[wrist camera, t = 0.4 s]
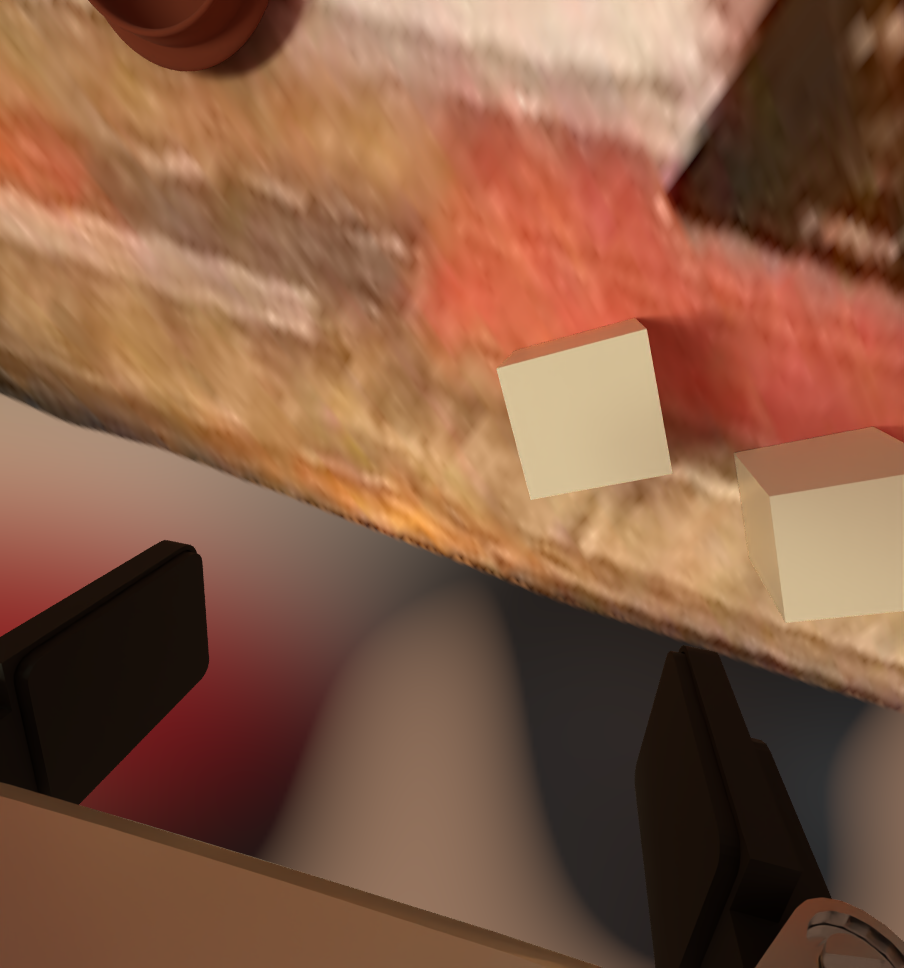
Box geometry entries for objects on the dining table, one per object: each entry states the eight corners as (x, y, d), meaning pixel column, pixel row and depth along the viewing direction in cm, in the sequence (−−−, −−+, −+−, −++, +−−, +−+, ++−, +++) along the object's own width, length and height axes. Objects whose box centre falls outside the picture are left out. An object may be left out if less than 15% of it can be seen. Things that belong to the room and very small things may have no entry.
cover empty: (873, 426, 30) (949, 466, 24) (880, 540, 32) (953, 606, 26) (733, 452, 32) (769, 496, 26) (749, 558, 34) (785, 623, 28)
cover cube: (634, 317, 31) (646, 328, 25) (656, 435, 33) (672, 473, 27) (514, 350, 33) (496, 368, 27) (541, 459, 35) (530, 499, 29)
